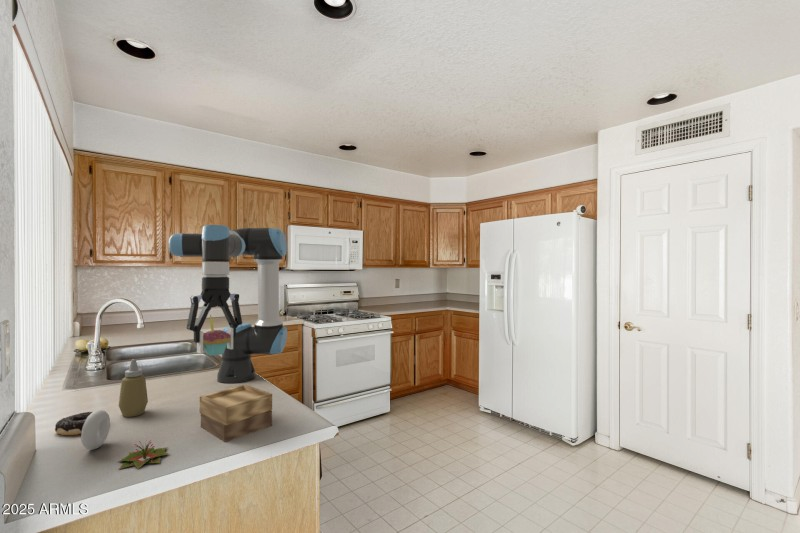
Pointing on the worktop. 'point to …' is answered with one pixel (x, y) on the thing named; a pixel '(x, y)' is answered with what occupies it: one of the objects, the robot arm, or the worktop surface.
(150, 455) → the lily flower
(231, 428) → the tower base
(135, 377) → the squeeze bottle
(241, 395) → the tower top
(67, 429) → the donut
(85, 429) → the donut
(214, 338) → the cupcake
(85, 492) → the worktop surface
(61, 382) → the worktop surface
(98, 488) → the worktop surface
